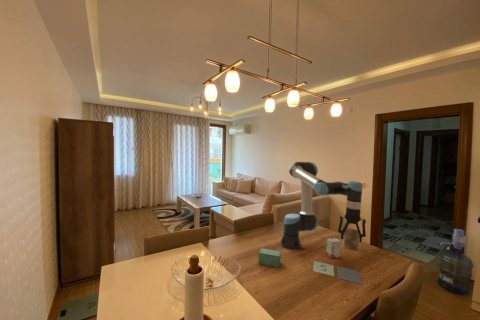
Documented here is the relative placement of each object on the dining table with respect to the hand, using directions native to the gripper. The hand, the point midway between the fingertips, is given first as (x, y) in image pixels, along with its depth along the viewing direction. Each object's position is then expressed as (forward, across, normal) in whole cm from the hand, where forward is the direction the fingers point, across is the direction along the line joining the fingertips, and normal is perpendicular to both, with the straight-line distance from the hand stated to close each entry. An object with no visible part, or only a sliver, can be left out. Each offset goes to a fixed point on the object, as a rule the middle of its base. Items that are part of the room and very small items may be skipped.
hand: (350, 245), depth 126 cm
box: (+18, -46, -8) cm, 50 cm away
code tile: (+18, -14, +1) cm, 23 cm away
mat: (+18, 0, 0) cm, 18 cm away
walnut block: (+1, 0, 0) cm, 1 cm away
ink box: (+18, -8, +21) cm, 29 cm away
